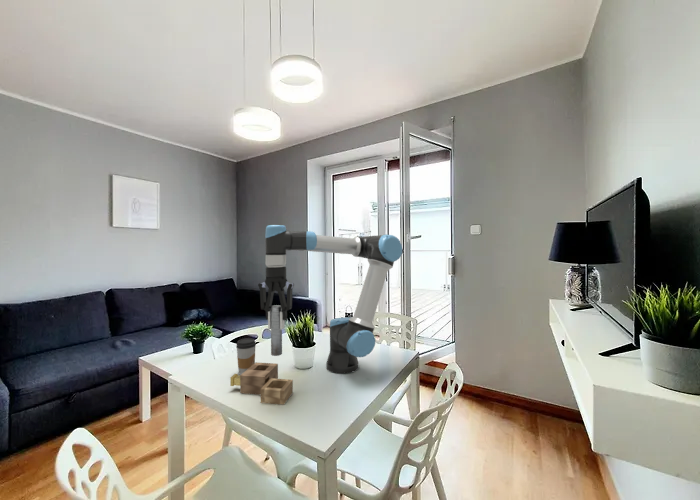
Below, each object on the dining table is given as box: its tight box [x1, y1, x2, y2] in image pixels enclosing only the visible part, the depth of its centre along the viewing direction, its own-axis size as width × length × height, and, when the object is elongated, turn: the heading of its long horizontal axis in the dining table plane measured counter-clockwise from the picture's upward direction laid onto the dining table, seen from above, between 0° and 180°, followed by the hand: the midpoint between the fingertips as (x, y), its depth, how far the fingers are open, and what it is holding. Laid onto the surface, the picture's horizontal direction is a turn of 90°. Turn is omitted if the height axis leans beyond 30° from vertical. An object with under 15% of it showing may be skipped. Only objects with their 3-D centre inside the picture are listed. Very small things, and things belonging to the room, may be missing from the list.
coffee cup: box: [236, 337, 257, 375], centre depth 132 cm, size 8×8×15 cm
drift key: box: [229, 373, 266, 387], centre depth 117 cm, size 13×3×3 cm, turn 81°
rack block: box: [260, 378, 294, 405], centre depth 111 cm, size 9×9×5 cm
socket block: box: [239, 362, 279, 396], centre depth 120 cm, size 10×13×7 cm
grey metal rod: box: [270, 304, 283, 357], centre depth 111 cm, size 4×4×18 cm
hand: (276, 328), depth 111 cm, fingers closed on grey metal rod, 4 cm apart
